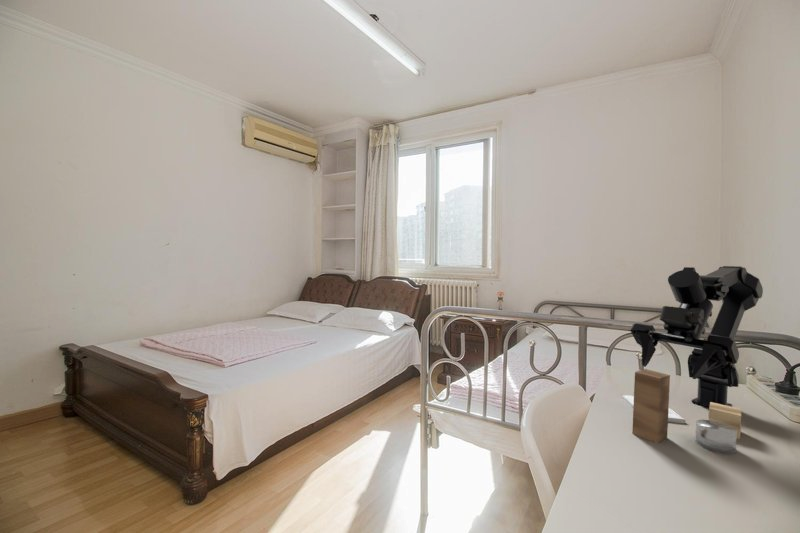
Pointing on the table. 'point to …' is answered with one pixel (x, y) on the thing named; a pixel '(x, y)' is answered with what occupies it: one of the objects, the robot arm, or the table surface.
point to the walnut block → (651, 405)
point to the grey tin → (716, 437)
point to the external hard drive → (671, 414)
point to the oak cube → (726, 416)
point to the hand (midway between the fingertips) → (667, 371)
